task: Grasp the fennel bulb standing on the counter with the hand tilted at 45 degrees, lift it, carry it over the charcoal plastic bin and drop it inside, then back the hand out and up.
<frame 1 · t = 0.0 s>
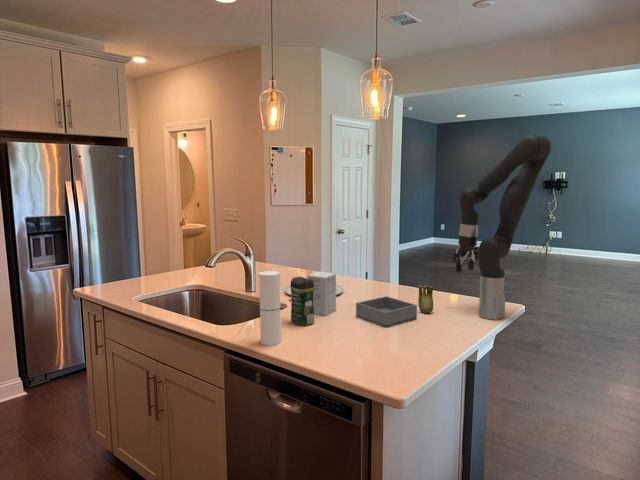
hand: (464, 271, 194), 17 cm above the worktop, tool pointing down, fingers open, 8 cm apart
fennel bulb: (425, 313, 192), on the worktop
cylindrical container: (270, 342, 158), on the worktop
plated food: (314, 293, 228), on the worktop
bin: (386, 317, 185), on the worktop
coffee jar: (302, 323, 180), on the worktop
supplement box: (322, 312, 194), on the worktop
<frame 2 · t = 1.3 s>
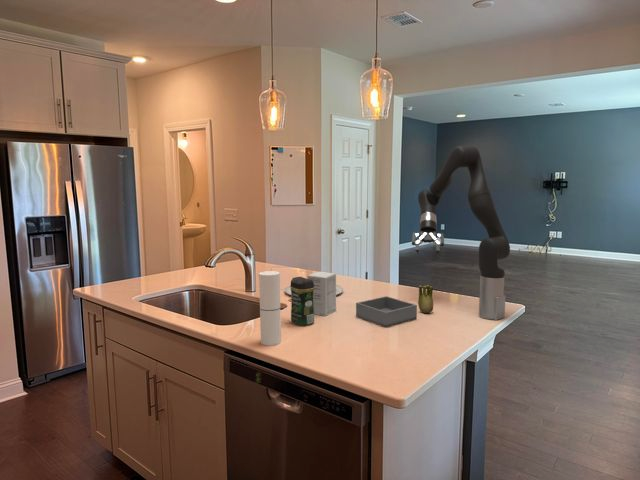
hand: (427, 252, 200), 25 cm above the worktop, tool tilted 45°, fingers open, 8 cm apart
nothing on the worktop moved.
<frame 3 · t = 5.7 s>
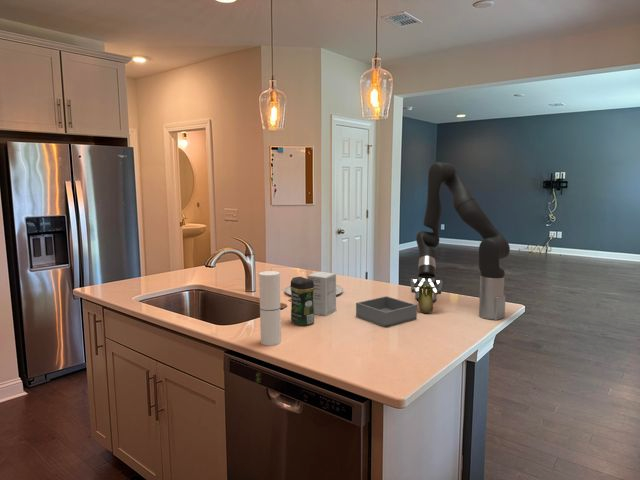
hand: (425, 300, 190), 6 cm above the worktop, tool tilted 45°, fingers closed on fennel bulb, 6 cm apart
fennel bulb: (425, 313, 192), on the worktop, touching gripper
everything else where it was.
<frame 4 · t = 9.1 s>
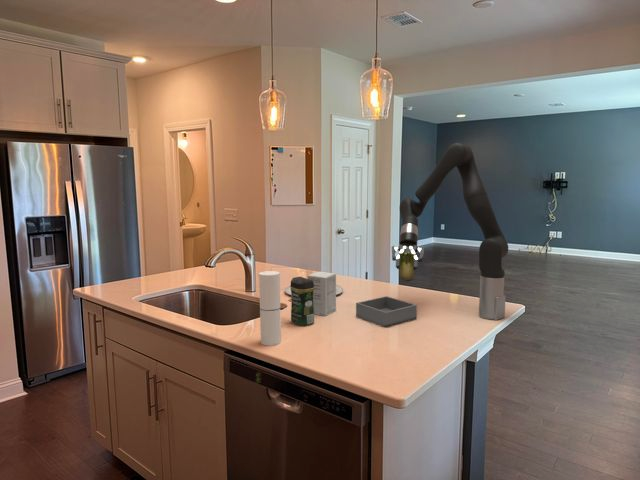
hand: (406, 268, 185), 20 cm above the worktop, tool tilted 45°, fingers closed on fennel bulb, 6 cm apart
fennel bulb: (406, 281, 187), point 15 cm above the worktop, touching gripper
everything else where it was.
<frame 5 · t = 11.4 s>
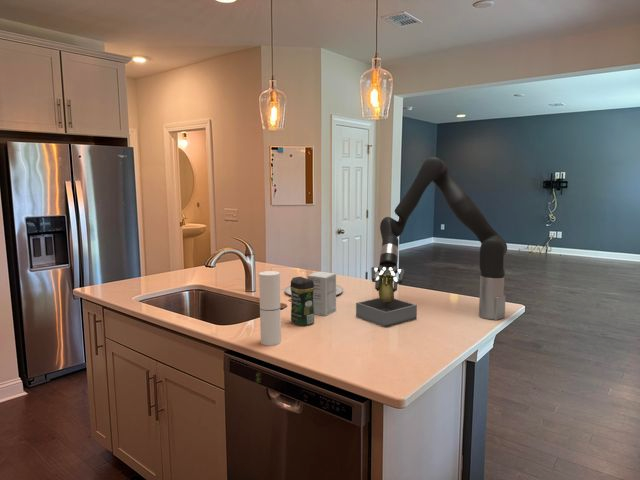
hand: (385, 290, 182), 12 cm above the worktop, tool tilted 45°, fingers closed on fennel bulb, 6 cm apart
fennel bulb: (386, 303, 184), point 6 cm above the worktop, touching gripper
everything else where it was.
when the fingers open (9 cm above the worktop, at t = 12.6 s): fennel bulb drops 2 cm, resting on bin.
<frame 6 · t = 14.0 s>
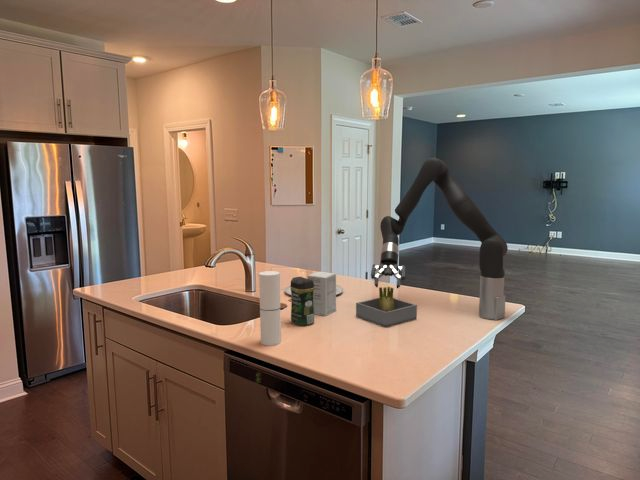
hand: (387, 286, 185), 13 cm above the worktop, tool tilted 45°, fingers open, 8 cm apart
fennel bulb: (386, 315, 185), point 1 cm above the worktop, touching bin
everything else where it was.
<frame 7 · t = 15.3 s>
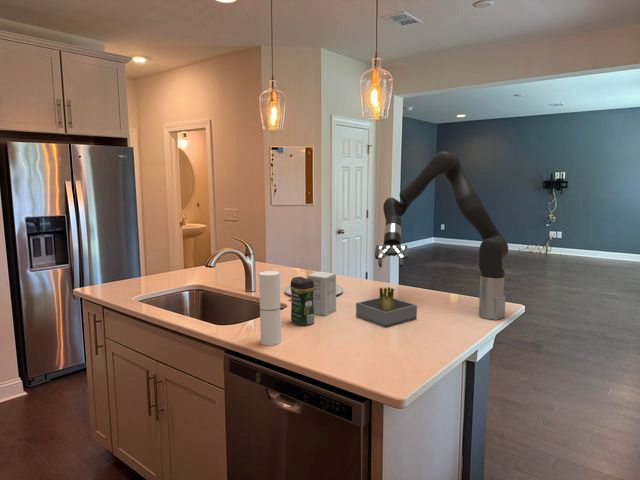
hand: (390, 266, 191), 20 cm above the worktop, tool tilted 45°, fingers open, 8 cm apart
nothing on the worktop moved.
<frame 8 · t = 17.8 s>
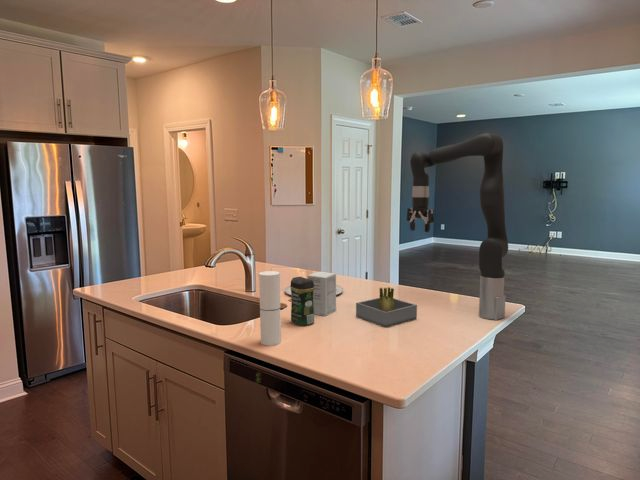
hand: (419, 231, 206), 33 cm above the worktop, tool pointing down, fingers open, 8 cm apart
nothing on the worktop moved.
at the end: fennel bulb inside the target area on the bin (0.6 cm from its centre), point 0.8 cm above the bin's base; the gripper is holding nothing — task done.
